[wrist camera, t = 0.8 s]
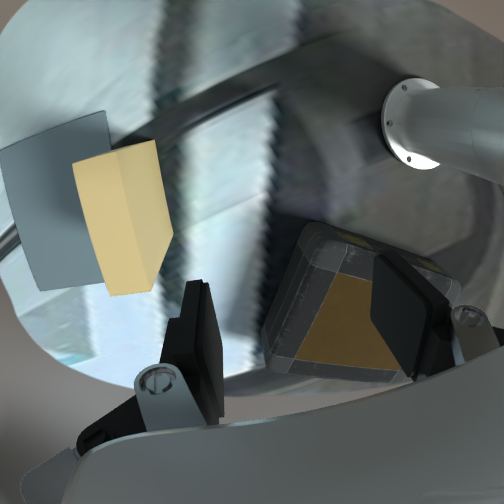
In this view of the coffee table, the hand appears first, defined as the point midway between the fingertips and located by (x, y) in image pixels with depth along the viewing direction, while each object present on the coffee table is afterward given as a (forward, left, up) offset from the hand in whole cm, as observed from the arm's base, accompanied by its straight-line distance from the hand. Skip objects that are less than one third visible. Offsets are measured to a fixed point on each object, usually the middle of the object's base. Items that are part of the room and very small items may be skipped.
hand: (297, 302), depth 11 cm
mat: (+25, 0, -28) cm, 37 cm away
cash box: (-14, +21, -28) cm, 38 cm away
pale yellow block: (+12, 0, -28) cm, 30 cm away
